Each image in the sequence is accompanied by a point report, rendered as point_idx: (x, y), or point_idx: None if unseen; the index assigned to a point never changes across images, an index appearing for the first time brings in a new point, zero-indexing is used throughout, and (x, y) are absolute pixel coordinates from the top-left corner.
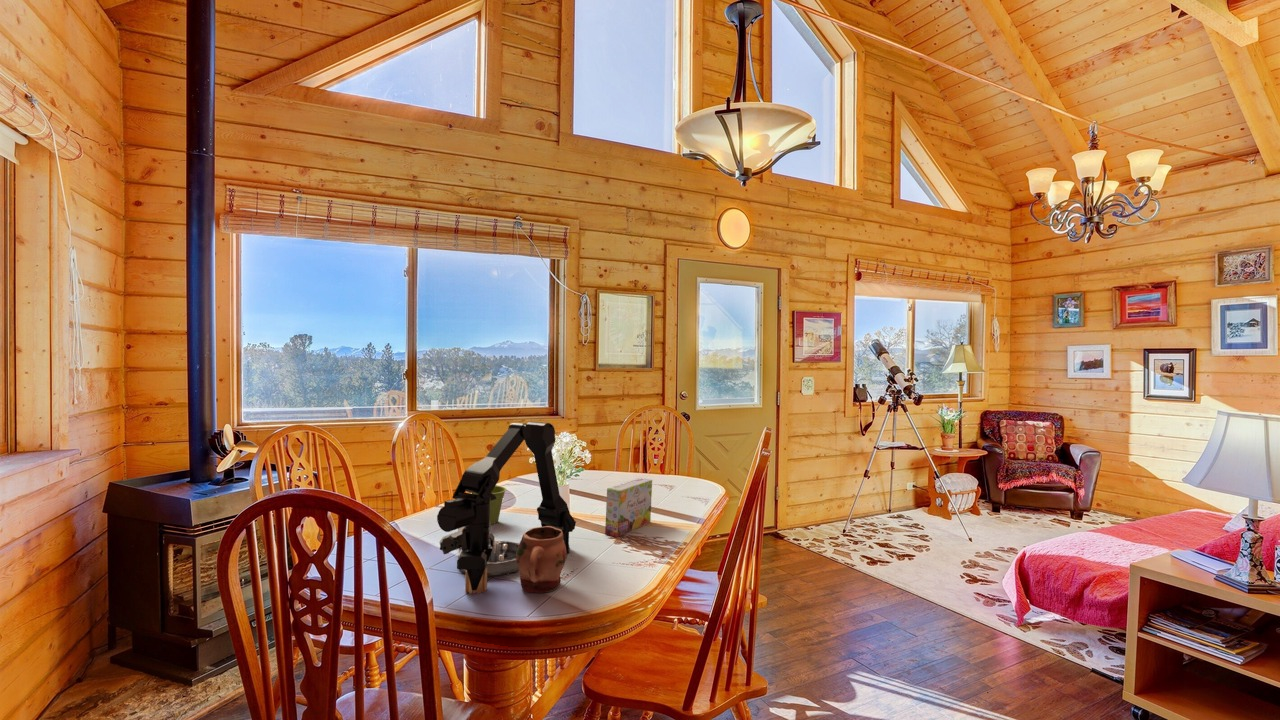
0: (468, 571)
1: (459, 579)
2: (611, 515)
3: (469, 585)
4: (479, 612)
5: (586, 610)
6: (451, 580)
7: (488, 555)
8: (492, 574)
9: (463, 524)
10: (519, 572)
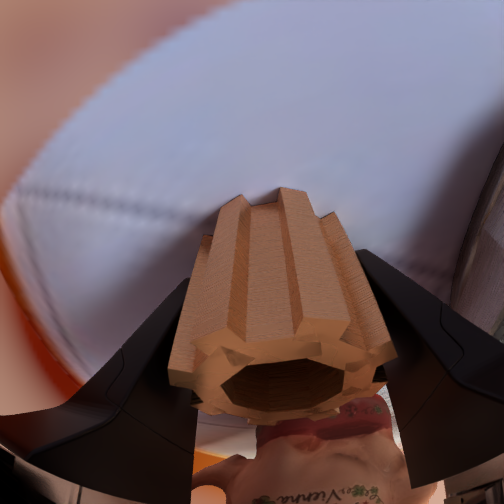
0: (77, 405)
1: (452, 91)
2: None
3: (192, 273)
4: (63, 326)
5: (198, 447)
6: (432, 36)
7: (410, 466)
8: (460, 284)
9: None
10: (274, 459)
